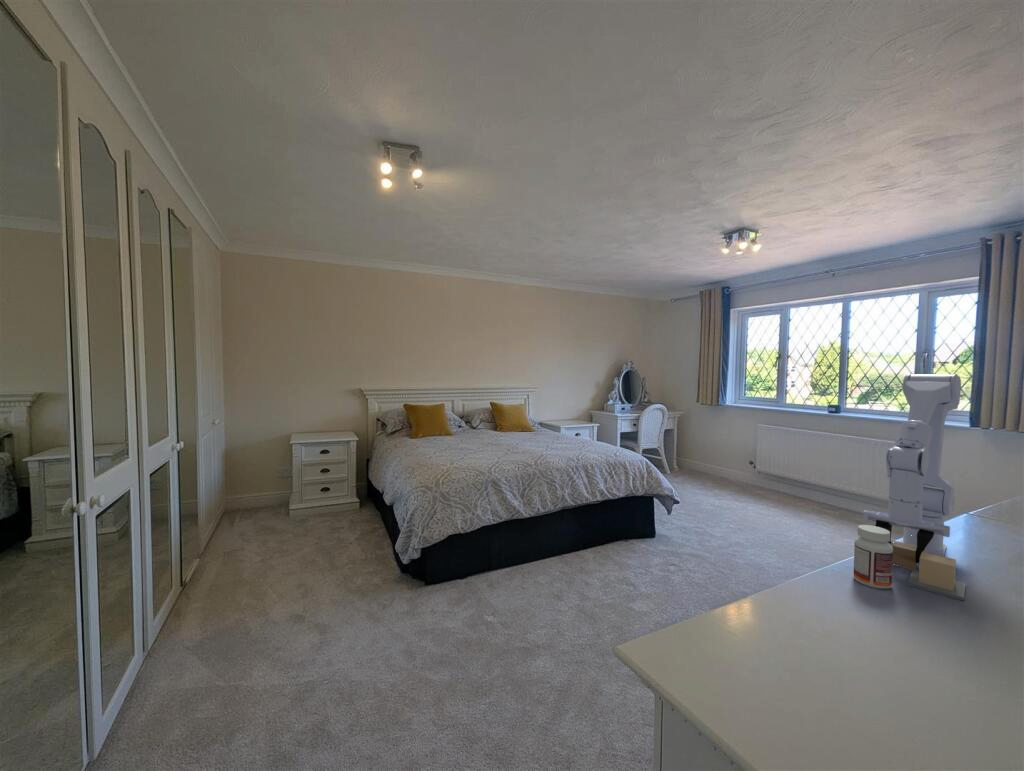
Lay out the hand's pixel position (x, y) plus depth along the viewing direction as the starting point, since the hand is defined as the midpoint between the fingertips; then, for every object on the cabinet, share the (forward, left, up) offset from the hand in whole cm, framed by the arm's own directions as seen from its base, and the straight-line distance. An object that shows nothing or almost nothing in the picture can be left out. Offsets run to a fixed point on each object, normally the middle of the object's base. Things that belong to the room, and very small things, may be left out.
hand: (902, 558), depth 97 cm
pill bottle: (+17, -3, -2) cm, 17 cm away
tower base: (+8, +6, -1) cm, 10 cm away
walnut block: (0, 0, -1) cm, 1 cm away
